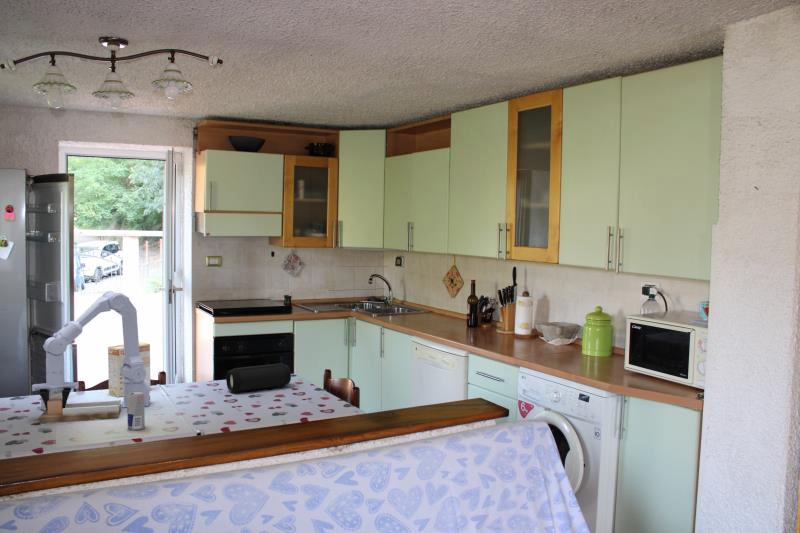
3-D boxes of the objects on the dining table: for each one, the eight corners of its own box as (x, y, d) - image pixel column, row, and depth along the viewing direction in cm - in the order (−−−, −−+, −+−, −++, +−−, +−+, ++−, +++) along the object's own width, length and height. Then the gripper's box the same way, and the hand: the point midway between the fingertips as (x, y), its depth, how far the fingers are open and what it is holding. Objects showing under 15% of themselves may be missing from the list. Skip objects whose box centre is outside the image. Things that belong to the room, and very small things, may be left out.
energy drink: (130, 425, 234) (130, 391, 233) (146, 425, 234) (146, 390, 234) (125, 430, 228) (125, 394, 228) (142, 430, 229) (141, 394, 228)
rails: (120, 405, 252) (120, 400, 252) (118, 411, 244) (118, 405, 244) (66, 408, 247) (66, 403, 247) (62, 414, 239) (62, 409, 239)
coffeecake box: (141, 387, 288) (140, 341, 287) (151, 390, 284) (150, 343, 283) (107, 394, 276) (107, 346, 275) (117, 397, 272) (117, 348, 271)
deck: (121, 409, 254) (120, 404, 254) (117, 418, 243) (117, 412, 243) (46, 414, 247) (45, 408, 247) (39, 423, 235) (39, 417, 235)
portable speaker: (282, 383, 300) (282, 360, 300) (292, 388, 292) (292, 364, 291) (225, 390, 286) (225, 366, 285) (234, 395, 278) (234, 371, 277)
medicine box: (51, 410, 251) (51, 387, 251) (41, 410, 252) (40, 386, 252) (66, 405, 259) (65, 382, 259) (55, 404, 260) (55, 382, 259)
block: (64, 410, 245) (63, 397, 245) (61, 413, 241) (61, 400, 240) (50, 411, 244) (49, 398, 243) (47, 414, 239) (47, 401, 239)
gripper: (29, 374, 235) (30, 414, 236) (76, 372, 240) (76, 411, 240) (34, 370, 242) (34, 408, 243) (79, 368, 246) (79, 406, 247)
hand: (55, 409), depth 242 cm, fingers closed on block, 4 cm apart
